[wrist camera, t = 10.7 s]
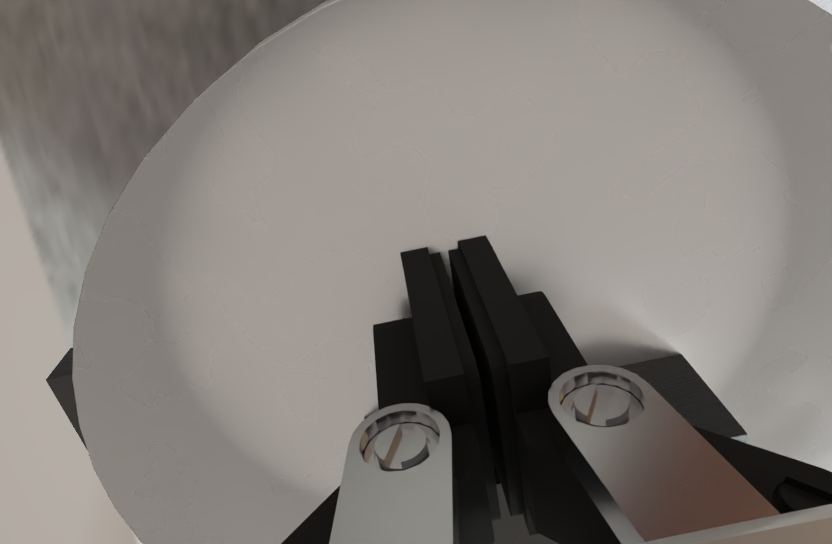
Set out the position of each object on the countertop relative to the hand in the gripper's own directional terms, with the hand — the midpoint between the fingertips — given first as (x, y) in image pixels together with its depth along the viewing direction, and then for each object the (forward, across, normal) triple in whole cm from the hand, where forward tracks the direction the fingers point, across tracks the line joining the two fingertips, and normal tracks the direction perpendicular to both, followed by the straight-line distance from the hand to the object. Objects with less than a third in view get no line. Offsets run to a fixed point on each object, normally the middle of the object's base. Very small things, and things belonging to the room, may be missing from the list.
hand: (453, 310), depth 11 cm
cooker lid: (+2, -1, +3) cm, 4 cm away
